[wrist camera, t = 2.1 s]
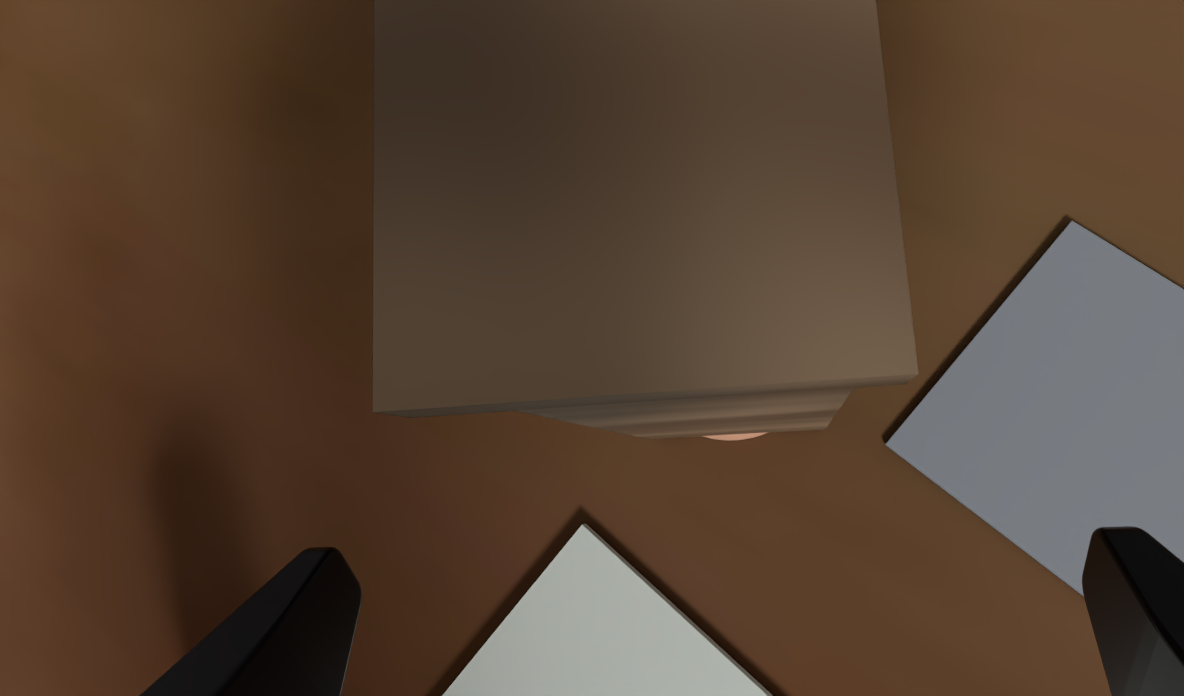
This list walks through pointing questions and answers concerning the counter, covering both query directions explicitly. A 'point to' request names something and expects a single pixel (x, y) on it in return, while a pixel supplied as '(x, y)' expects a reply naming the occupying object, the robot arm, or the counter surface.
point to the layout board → (943, 454)
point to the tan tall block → (635, 213)
